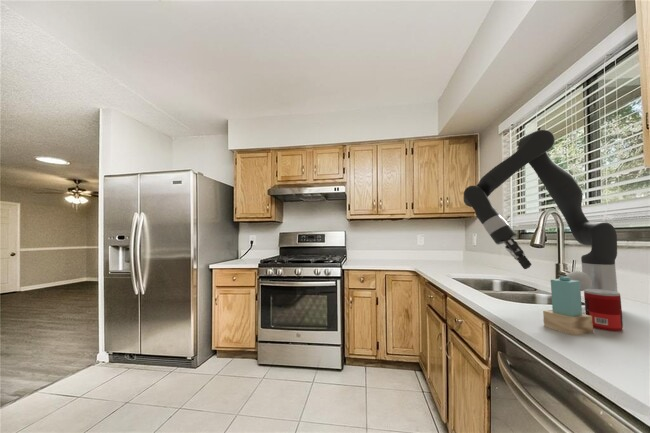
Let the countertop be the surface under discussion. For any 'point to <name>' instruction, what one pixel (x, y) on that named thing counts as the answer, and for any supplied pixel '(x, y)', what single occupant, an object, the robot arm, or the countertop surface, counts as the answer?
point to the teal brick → (566, 296)
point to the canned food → (604, 309)
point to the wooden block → (568, 323)
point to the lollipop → (581, 279)
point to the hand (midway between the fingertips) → (528, 267)
